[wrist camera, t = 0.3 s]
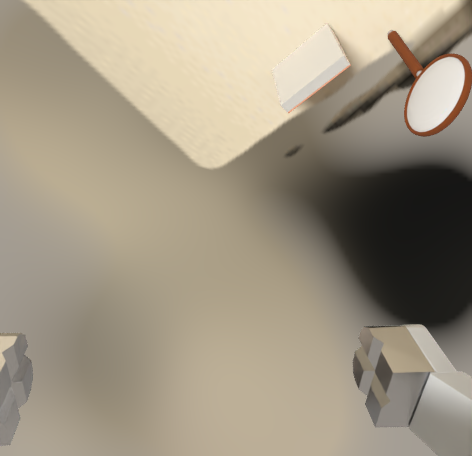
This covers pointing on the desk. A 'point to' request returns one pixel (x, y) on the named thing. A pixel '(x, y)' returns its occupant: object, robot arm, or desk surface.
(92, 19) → the desk surface
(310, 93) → the glazed tile
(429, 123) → the magnifying glass
